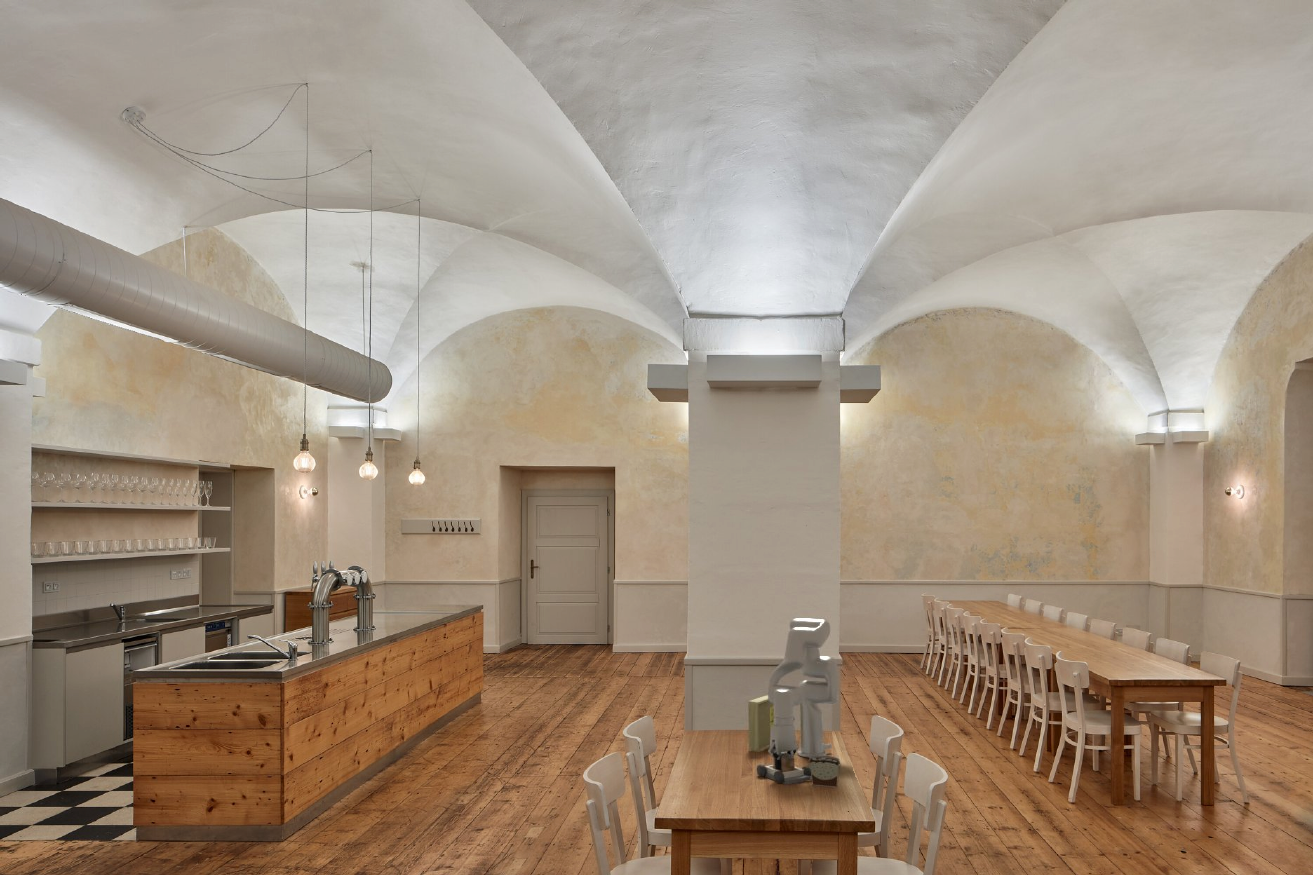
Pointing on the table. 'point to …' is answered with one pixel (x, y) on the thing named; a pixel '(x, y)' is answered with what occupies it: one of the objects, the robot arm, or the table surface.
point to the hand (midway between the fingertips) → (783, 767)
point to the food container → (824, 770)
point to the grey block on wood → (786, 762)
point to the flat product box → (760, 723)
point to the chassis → (785, 774)
